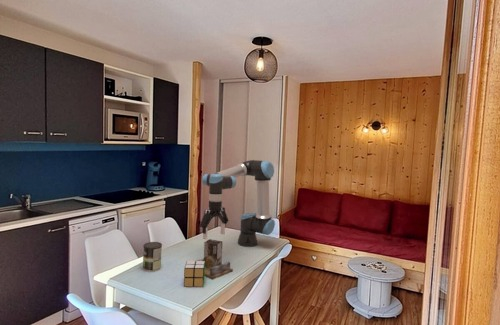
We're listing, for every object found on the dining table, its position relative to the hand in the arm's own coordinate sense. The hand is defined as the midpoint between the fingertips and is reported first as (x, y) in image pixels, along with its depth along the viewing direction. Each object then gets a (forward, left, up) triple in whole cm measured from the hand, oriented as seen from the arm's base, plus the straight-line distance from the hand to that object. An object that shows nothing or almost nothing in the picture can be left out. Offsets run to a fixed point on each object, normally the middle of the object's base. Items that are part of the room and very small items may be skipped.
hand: (214, 236), depth 172 cm
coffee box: (0, 0, -19) cm, 19 cm away
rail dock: (0, 0, -20) cm, 20 cm away
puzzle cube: (+17, +5, -21) cm, 27 cm away
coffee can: (+24, -26, -21) cm, 41 cm away
